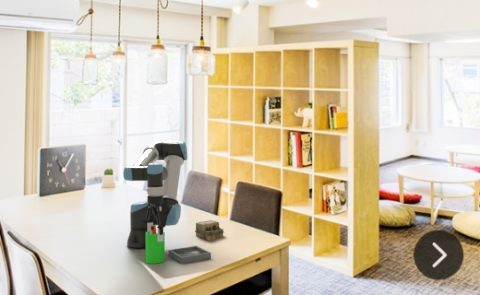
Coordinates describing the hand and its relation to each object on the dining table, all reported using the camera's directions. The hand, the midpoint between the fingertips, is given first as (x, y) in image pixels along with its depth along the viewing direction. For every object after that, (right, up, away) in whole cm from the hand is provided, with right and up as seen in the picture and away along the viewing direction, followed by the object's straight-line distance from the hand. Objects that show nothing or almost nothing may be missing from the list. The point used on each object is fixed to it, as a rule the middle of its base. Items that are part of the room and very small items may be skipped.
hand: (155, 238), depth 200 cm
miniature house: (+23, -11, +37) cm, 45 cm away
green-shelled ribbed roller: (0, -12, 0) cm, 11 cm away
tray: (+16, -11, +7) cm, 21 cm away
